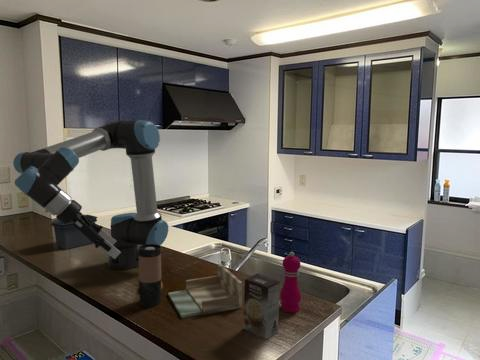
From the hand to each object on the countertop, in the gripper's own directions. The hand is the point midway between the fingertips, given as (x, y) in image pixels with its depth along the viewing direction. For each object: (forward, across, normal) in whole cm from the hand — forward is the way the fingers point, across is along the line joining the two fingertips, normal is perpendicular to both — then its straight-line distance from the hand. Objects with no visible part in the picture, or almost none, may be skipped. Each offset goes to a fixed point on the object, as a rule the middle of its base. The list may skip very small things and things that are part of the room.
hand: (115, 249), depth 123 cm
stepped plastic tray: (+35, +6, +6) cm, 36 cm away
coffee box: (+42, +32, +13) cm, 54 cm away
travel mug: (+23, 0, -7) cm, 24 cm away
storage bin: (+5, -85, -24) cm, 89 cm away
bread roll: (+25, -12, -5) cm, 28 cm away
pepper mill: (+53, +23, +24) cm, 62 cm away
